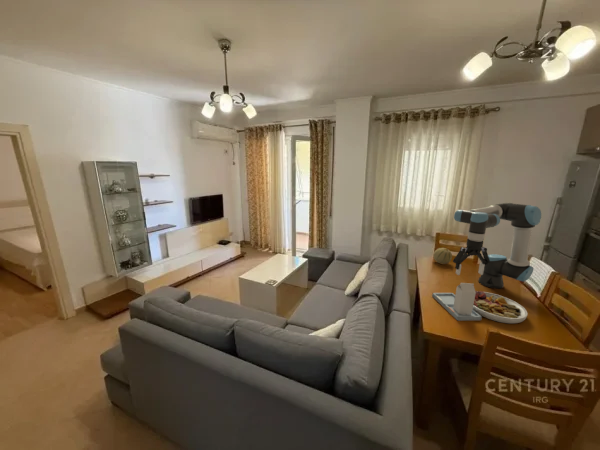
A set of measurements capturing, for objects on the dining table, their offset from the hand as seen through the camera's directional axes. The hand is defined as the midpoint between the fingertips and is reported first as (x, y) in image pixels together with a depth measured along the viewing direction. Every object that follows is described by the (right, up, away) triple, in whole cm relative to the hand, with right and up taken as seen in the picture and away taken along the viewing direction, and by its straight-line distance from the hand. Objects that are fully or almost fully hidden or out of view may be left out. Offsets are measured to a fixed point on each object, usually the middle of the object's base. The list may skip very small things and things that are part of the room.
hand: (469, 274), depth 142 cm
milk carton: (0, -24, +6) cm, 25 cm away
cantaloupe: (+31, -7, +81) cm, 87 cm away
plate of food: (+22, -25, +9) cm, 35 cm away
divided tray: (0, -24, +13) cm, 27 cm away
